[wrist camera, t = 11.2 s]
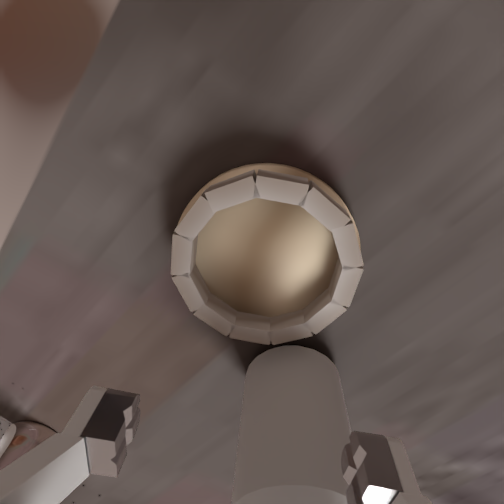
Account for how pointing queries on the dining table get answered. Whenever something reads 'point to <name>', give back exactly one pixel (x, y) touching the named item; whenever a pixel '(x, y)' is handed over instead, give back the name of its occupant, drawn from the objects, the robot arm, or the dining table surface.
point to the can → (291, 430)
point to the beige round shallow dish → (266, 254)
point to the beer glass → (21, 440)
